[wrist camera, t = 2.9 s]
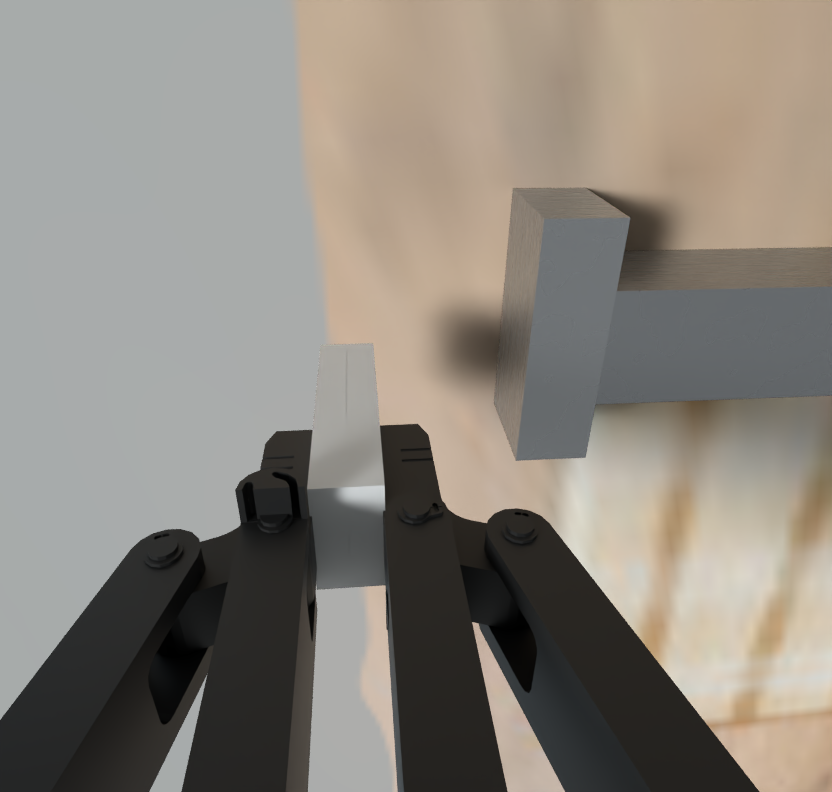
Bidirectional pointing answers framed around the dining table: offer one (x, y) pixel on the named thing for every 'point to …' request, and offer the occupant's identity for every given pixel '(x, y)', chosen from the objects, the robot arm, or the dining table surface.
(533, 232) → the gray block
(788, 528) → the dining table surface
